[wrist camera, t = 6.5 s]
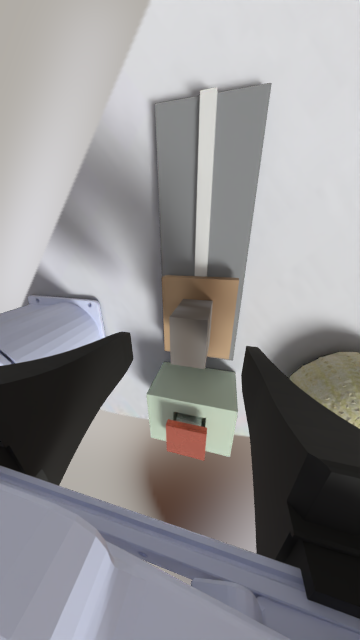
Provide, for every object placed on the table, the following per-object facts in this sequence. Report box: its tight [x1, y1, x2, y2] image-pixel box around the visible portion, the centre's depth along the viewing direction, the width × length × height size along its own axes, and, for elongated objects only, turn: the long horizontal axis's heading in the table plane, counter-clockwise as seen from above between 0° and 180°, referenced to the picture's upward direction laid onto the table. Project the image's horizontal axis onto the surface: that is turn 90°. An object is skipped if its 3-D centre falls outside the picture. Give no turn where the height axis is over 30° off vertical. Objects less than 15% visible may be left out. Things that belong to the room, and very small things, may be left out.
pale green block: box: [147, 362, 238, 457], centre depth 19 cm, size 8×6×5 cm
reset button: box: [166, 413, 207, 460], centre depth 16 cm, size 3×3×2 cm
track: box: [155, 83, 271, 361], centre depth 15 cm, size 7×19×1 cm, turn 0°
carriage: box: [162, 275, 239, 369], centre depth 14 cm, size 6×7×5 cm
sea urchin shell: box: [290, 352, 360, 429], centre depth 16 cm, size 9×8×8 cm
